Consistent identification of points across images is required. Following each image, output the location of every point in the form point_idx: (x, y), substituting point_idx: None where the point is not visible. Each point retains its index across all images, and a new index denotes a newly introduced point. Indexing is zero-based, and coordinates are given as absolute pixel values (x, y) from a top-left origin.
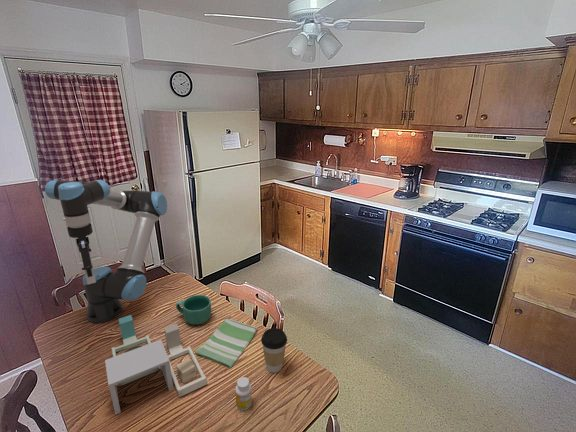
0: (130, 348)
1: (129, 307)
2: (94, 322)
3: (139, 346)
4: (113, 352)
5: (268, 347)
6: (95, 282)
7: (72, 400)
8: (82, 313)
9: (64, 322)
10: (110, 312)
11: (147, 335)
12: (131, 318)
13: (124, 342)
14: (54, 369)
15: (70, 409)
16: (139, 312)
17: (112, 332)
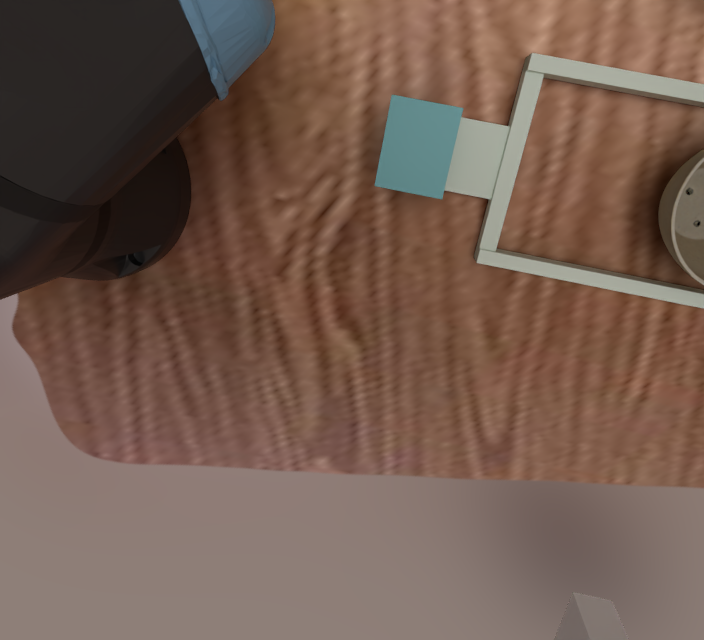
0: (674, 211)
1: None
2: (163, 256)
3: (701, 160)
4: (522, 266)
5: None
6: (608, 607)
7: (632, 457)
8: None
9: (70, 362)
10: (161, 172)
11: (534, 59)
12: (438, 109)
13: (467, 189)
14: (394, 463)
15: (673, 472)
16: None
17: (310, 206)
